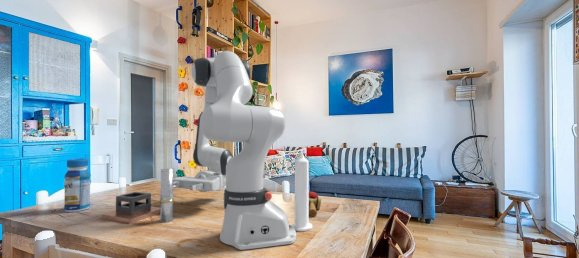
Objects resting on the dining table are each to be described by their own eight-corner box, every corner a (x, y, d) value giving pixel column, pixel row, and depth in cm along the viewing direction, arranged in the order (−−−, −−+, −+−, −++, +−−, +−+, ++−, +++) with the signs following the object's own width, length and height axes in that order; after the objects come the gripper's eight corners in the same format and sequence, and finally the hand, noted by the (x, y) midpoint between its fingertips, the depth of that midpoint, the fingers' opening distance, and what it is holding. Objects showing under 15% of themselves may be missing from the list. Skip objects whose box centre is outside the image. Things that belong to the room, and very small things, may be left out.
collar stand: (136, 208, 108) (137, 189, 109) (163, 212, 103) (163, 192, 103) (101, 218, 95) (101, 197, 96) (129, 223, 90) (130, 201, 90)
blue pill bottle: (92, 209, 107) (93, 159, 107) (65, 214, 100) (65, 160, 101) (88, 205, 112) (88, 157, 113) (61, 209, 106) (62, 159, 106)
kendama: (325, 220, 98) (321, 201, 116) (322, 204, 98) (318, 187, 116) (304, 223, 99) (303, 204, 117) (301, 207, 98) (301, 190, 116)
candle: (311, 232, 83) (311, 151, 83) (288, 230, 85) (288, 151, 85) (313, 224, 90) (313, 150, 90) (292, 223, 91) (293, 149, 92)
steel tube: (175, 218, 96) (175, 168, 96) (171, 222, 92) (171, 169, 92) (162, 218, 96) (163, 168, 96) (157, 222, 91) (158, 169, 91)
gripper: (186, 172, 116) (160, 177, 104) (225, 174, 109) (203, 180, 96) (185, 186, 116) (160, 193, 103) (225, 190, 109) (203, 198, 96)
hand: (181, 187), depth 100 cm, fingers open, 8 cm apart
